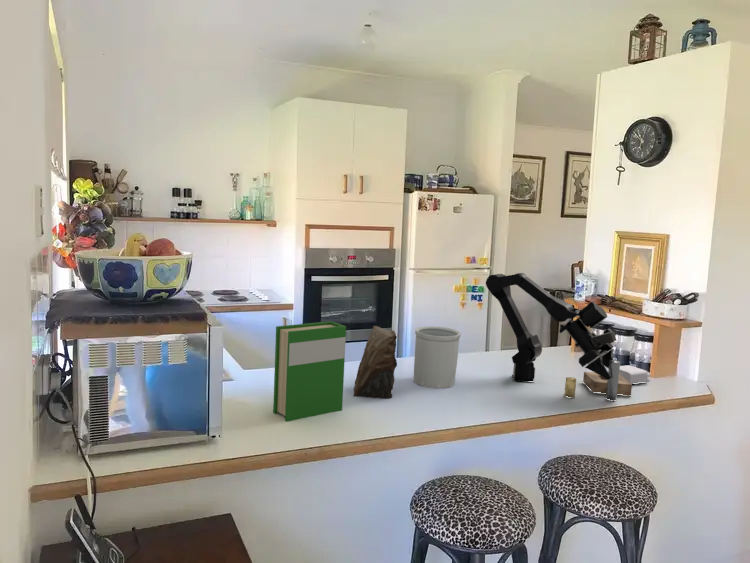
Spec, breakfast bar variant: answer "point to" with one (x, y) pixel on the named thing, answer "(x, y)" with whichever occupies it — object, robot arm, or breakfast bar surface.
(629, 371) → the charger
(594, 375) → the walnut hole block
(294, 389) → the hardback book
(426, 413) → the breakfast bar surface
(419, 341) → the utensil holder
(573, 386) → the short brass pin
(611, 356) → the robot arm
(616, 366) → the long steel pin
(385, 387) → the brown rock
